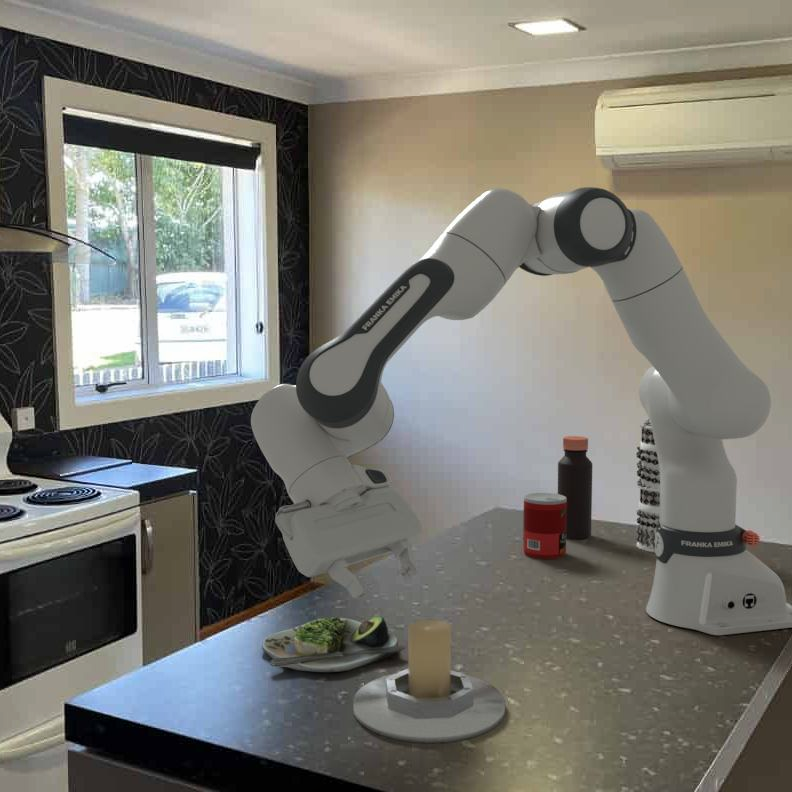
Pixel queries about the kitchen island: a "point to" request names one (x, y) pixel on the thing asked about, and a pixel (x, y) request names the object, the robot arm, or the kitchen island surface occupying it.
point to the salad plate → (332, 645)
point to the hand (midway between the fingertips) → (388, 585)
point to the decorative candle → (648, 490)
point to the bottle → (576, 486)
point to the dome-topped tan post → (429, 659)
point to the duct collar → (429, 709)
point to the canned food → (545, 525)
